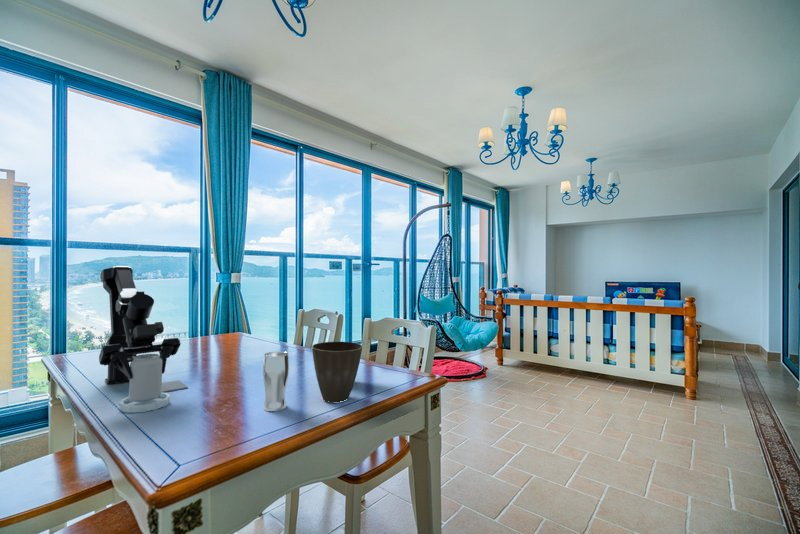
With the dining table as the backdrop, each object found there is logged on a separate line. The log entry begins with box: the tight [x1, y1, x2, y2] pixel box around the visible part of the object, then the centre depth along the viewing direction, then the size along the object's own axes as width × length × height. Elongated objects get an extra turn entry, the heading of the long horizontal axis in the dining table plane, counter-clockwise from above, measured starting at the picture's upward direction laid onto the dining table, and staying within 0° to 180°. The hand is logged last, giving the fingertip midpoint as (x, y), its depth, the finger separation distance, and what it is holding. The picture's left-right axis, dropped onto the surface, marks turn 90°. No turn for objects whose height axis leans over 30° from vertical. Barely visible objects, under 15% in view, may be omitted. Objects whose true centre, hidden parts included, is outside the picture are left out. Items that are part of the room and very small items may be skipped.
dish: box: [118, 392, 171, 414], centre depth 105 cm, size 11×11×2 cm
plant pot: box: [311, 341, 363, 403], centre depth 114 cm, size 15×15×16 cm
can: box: [128, 353, 163, 402], centre depth 105 cm, size 8×8×12 cm
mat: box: [161, 380, 189, 393], centre depth 121 cm, size 10×10×1 cm
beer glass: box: [262, 351, 290, 413], centre depth 105 cm, size 7×7×15 cm
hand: (147, 375), depth 104 cm, fingers closed on can, 7 cm apart
